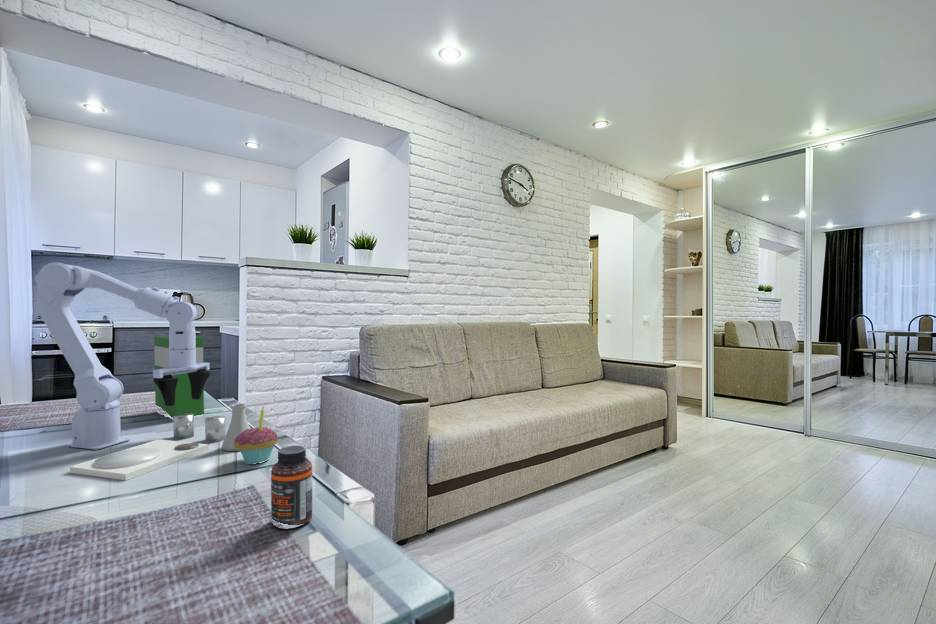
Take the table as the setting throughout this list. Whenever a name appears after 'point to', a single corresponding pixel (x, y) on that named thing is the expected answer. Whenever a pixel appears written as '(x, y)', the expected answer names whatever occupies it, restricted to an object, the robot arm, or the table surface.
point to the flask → (235, 426)
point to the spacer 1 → (183, 426)
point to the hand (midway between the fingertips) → (183, 402)
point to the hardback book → (183, 386)
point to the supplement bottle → (291, 487)
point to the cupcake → (256, 442)
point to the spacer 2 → (215, 429)
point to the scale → (138, 459)
